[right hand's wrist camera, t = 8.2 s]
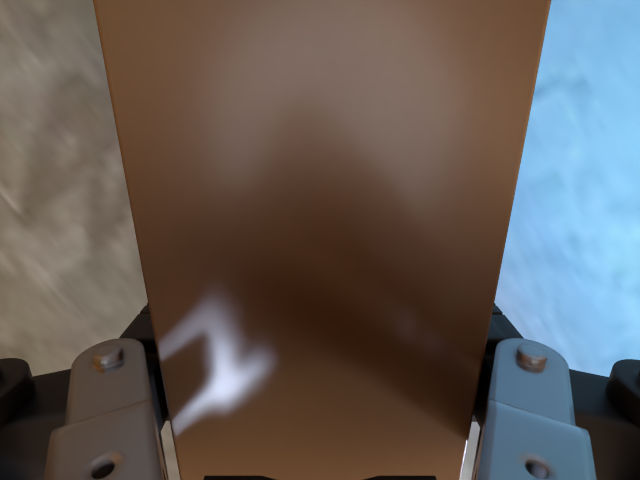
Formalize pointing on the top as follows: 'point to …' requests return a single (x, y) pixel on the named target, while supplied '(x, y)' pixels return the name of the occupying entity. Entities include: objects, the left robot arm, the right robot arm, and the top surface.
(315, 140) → the box
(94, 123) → the top surface
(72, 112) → the top surface
